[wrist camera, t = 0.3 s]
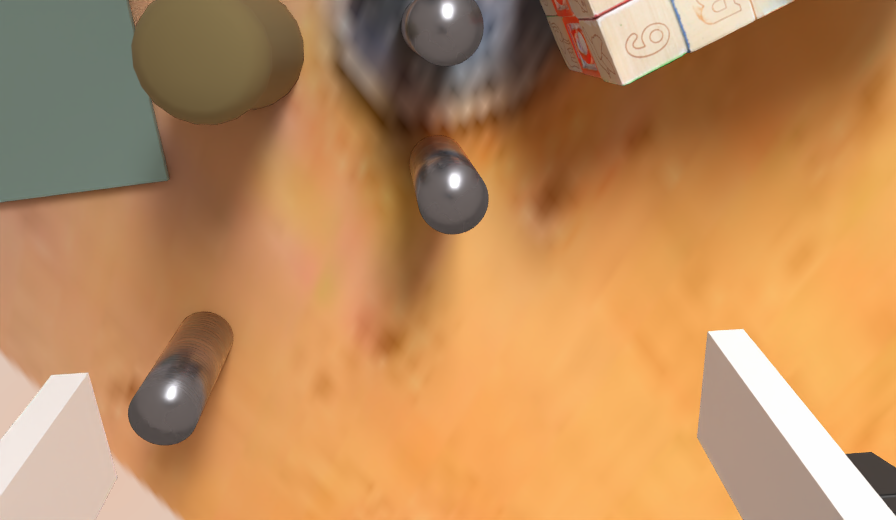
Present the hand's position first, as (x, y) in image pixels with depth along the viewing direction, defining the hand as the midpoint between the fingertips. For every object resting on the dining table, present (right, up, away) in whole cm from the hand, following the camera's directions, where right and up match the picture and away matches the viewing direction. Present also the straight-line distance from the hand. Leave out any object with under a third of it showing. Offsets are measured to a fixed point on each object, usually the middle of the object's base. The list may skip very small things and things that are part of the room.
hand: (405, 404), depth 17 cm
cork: (-9, +14, +22) cm, 28 cm away
